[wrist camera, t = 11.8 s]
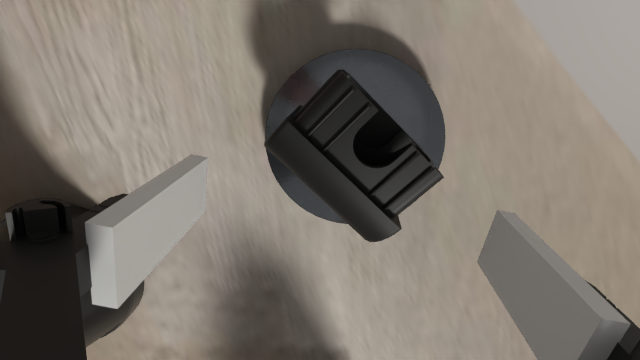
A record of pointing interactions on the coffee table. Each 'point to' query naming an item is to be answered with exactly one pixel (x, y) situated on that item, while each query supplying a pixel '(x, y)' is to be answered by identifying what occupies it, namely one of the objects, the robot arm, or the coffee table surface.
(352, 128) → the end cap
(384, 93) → the plate
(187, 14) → the coffee table surface
